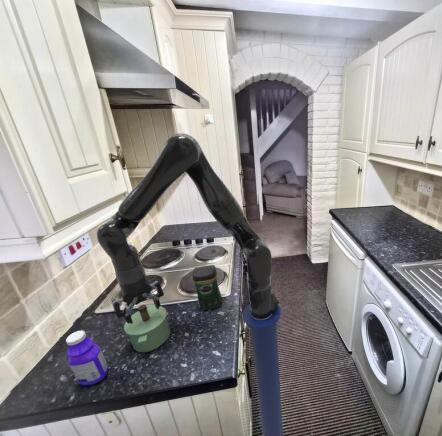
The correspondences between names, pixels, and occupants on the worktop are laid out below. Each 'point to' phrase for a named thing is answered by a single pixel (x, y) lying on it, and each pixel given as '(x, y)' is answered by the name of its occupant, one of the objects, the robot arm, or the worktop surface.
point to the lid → (145, 320)
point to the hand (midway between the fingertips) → (144, 314)
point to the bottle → (86, 359)
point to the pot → (151, 337)
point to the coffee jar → (207, 287)
